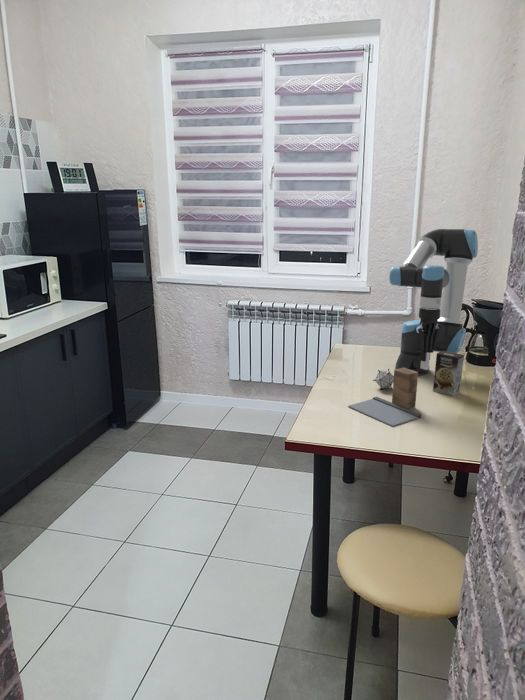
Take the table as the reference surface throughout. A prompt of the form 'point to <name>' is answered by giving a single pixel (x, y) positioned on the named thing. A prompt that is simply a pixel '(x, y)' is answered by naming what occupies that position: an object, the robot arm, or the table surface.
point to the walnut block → (405, 388)
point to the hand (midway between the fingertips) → (424, 368)
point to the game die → (384, 379)
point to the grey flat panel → (385, 411)
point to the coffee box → (448, 373)
